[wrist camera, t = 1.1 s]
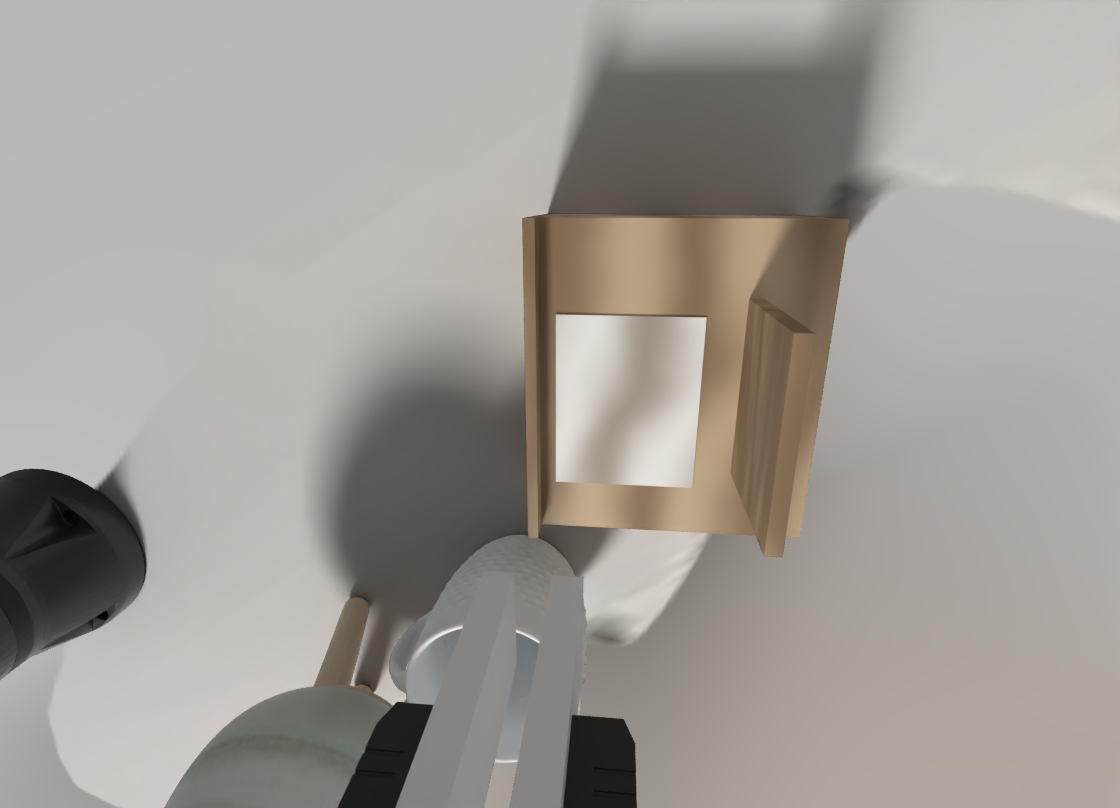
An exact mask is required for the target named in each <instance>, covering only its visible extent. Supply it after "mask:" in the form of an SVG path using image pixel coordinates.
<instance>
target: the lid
mask: <svg viewBox="0 0 1120 808" xmlns="http://www.w3.org/2000/svg"><path fill="white" fill-rule="evenodd" d="M849 221H850V219H843V218H634V217H526V218H522V230H523V286H524V341H525V397H526V453H527V508H528V538H538V537H539V532H540V528H541V524H549V525H568V526H586V527H605V528H624V529H642V530H661V531H680V532H699V533H717V534H736V535H755V536H756V538H757V540H758V542H759V545H760V548H761V550H762V553H763V555H764V556H767V557H783V552H784V545H785V538H786V537H792V538H793V537H794V538H800V534H801V528H802V521H803V515H804V509H805V502H806V496H807V489H808V483H809V476H810V470H811V464H812V457H813V451H814V445H815V438H816V432H817V425H818V419H819V413H820V406H821V400H822V394H823V387H824V381H825V374H826V368H827V361H828V355H829V348H830V342H831V336H832V329H833V323H834V316H835V310H836V304H837V297H838V291H839V285H840V278H841V271H842V266H843V259H844V253H845V246H846V240H847V234H848V227H849Z"/></svg>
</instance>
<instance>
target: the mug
mask: <svg viewBox="0 0 1120 808" xmlns="http://www.w3.org/2000/svg"><path fill="white" fill-rule="evenodd" d="M483 571H491V572H507V573H514V582H515V618H516V655H517V664H516V668H515V673H514V677H513V682H512V686H511V691H510V695H509V699H508V704H507V708H506V713H505V717H504V722H503V726H502V730H501V735H500V739H499V744H498V748H497V752H496V757H495V761H494V762H518V757H519V752H520V746H521V741H522V736H523V730H524V725H525V719H526V714H527V709H528V703H529V698H530V692H531V687H532V681H533V676H534V671H535V665H536V660H537V654H538V649H539V643H540V638H541V633H542V627H543V622H544V616H545V611H546V606H547V600H548V595H549V589H550V584H551V578H552V575H556V576H572V577H576V576H575V575H574V572H573V569H572V568H571V567H570V566H569V564H568V561H567V560H566V559H565V558H564V557H563V556H562V555H561V553H559V552H558V551H557V550H556V549H555V548H554V547H553V546H552V545H550V544H549V543H547V542H546V541H544V540H542V539H539V538H528V535H510V536H505V537H502V538H499V539H497V540H493V541H491V542H490V543H488V544H486V545H484V546H483V547H482V548H481V549H479V550H477V551H476V552H475V553H474V554H473V555H472V556H470V557H469V558H468V559H467V561H466V562H465V563H463V564H462V565H461V566H460V568H459V569H458V570H457V571H456V572H455V573H454V575H453V577H452V578H451V579H450V581H448V582H447V584H446V587H445V589H444V590H443V592H442V593H441V594H440V596H439V599H438V601H437V603H436V604H435V605H434V607H433V609H432V610H431V611H430V612H428V613H427V614H425V615H424V616H422V617H421V618H420V619H419V620H417V621H416V622H415V623H414V624H413V625H412V626H411V627H410V628H409V629H408V630H407V631H406V632H405V633H404V634H403V635H402V637H401V638H400V639H399V641H398V642H397V644H396V645H395V647H394V649H393V651H392V653H391V656H390V660H389V672H390V675H391V678H392V680H393V682H394V684H395V685H396V687H397V688H398V689H399V690H401V691H403V692H404V693H406V698H407V701H408V703H416V704H428V705H434V703H435V700H436V697H437V695H438V692H439V689H440V687H441V684H442V681H443V679H444V676H445V673H446V671H447V668H448V665H449V663H450V660H451V657H452V654H453V652H454V649H455V646H456V644H457V641H458V638H459V636H460V633H461V630H462V628H463V625H464V622H465V620H466V617H467V614H468V611H469V609H470V606H471V603H472V601H473V598H474V595H475V593H476V590H477V587H478V585H479V582H480V579H481V577H482V574H483ZM585 613H586V610H585V607H584V600H583V632H582V672H581V684H580V696H579V708H578V715H579V713H580V708H581V702H582V690H583V684H584V672H585V656H586V640H587V633H586V626H587V621H586V617H585ZM409 660H410V661H409ZM408 662H409V663H408ZM407 664H408V666H407ZM406 667H407V670H406Z"/></svg>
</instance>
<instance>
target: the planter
mask: <svg viewBox="0 0 1120 808" xmlns="http://www.w3.org/2000/svg"><path fill="white" fill-rule="evenodd" d="M368 613H369V605H368V603H367V602H366V601H365V600H364V599H363V598H360V597H353V598H351V599H349V600H348V601H347V602H346V604H345V606H344V608H343V610H342V613H341V615H340V618H339V620H338V623H337V626H336V629H335V631H334V634H333V637H332V640H331V642H330V645H329V648H328V650H327V653H326V656H325V658H324V661H323V663H322V666H321V668H320V671H319V673H318V676H317V679H316V681H315V684H314V686H313V687H306V688H300V689H296V690H292V691H288V692H285V693H282V694H279V695H276V696H274V697H271V698H269V699H267V700H264V701H262V702H260V703H258V704H257V705H255V706H253V707H251V708H249V709H248V710H246V711H245V712H243V713H242V714H240V715H239V716H238V717H236V718H235V719H234V720H233V721H231V722H230V723H229V724H228V725H227V726H225V727H224V728H223V729H222V730H221V731H220V732H219V733H218V734H217V735H216V736H215V737H214V738H213V739H212V740H211V741H210V742H209V744H208V745H207V746H206V747H205V748H204V749H203V750H202V752H201V753H200V754H199V755H198V757H197V758H196V759H195V761H194V762H193V763H192V765H191V766H190V767H189V769H188V770H187V771H186V773H185V774H184V776H183V777H182V779H181V780H180V782H179V784H178V785H177V787H176V788H175V790H174V792H173V794H172V795H171V797H170V799H169V800H168V802H167V804H166V806H165V808H337V807H338V805H339V803H340V801H341V799H342V797H343V794H344V792H345V790H346V788H347V786H348V784H349V782H350V779H351V777H352V775H354V774H355V769H356V767H357V764H358V762H359V760H360V758H361V756H362V754H363V753H364V752H365V747H366V745H367V743H368V741H369V739H370V737H371V735H372V732H373V730H374V728H375V726H376V724H377V722H378V721H379V720H380V719H381V718H382V717H383V716H384V715H385V714H386V713H387V712H388V711H389V710H390V709H391V708H392V707H393V706H392V705H391V704H390V703H389V702H387V701H386V700H384V699H383V698H381V697H380V696H378V695H376V694H374V693H372V691H371V689H370V688H369V687H367V686H365V685H357V686H355V687H353V686H350V684H351V680H352V677H353V673H354V669H355V666H356V662H357V658H358V654H359V650H360V646H361V642H362V638H363V634H364V630H365V625H366V621H367V617H368ZM404 703H408V701H407V699H406V700H405V701H404Z"/></svg>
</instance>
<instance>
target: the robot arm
mask: <svg viewBox="0 0 1120 808" xmlns="http://www.w3.org/2000/svg"><path fill="white" fill-rule="evenodd" d="M144 574H145V566H144V558H143V553H142V550H141V546H140V544H139V541H138V539H137V537H136V535H135V533H134V531H133V529H132V528H131V526H130V524H129V523H128V522H127V520H126V519H125V517H124V516H123V515H122V514H121V513H120V511H119V510H118V509H117V508H116V507H115V506H114V505H113V504H112V503H111V502H110V501H109V500H108V499H106V498H105V497H104V496H103V495H102V494H100V493H99V492H97V491H96V490H95V489H93V488H92V487H90V486H88V485H86V484H85V483H83V482H81V481H79V480H77V479H75V478H73V477H70V476H68V475H64V474H62V473H58V472H54V471H50V470H44V469H24V470H18V471H14V472H11V473H9V474H6V475H4V476H2V477H0V680H1V679H2V678H3V677H5V676H6V675H7V674H8V673H10V672H11V671H12V670H14V669H15V668H16V667H18V666H19V665H20V664H22V663H23V662H24V661H26V660H27V659H28V658H30V657H32V656H34V655H37V654H39V653H41V652H44V651H46V650H48V649H51V648H53V647H55V646H58V645H60V644H63V643H65V642H67V641H70V640H72V639H74V638H77V637H79V636H81V635H84V634H86V633H89V632H91V631H93V630H95V629H98V628H100V627H101V626H103V625H105V624H106V623H108V622H109V621H111V620H112V619H113V618H115V617H116V616H117V615H118V614H120V613H121V612H122V611H123V610H124V609H126V608H127V607H128V606H129V605H130V604H131V603H132V602H133V601H134V600H135V599H136V597H137V596H138V594H139V592H140V590H141V588H142V585H143V581H144ZM582 632H583V577H572V576H556V575H552V578H551V584H550V589H549V595H548V600H547V606H546V611H545V616H544V622H543V627H542V633H541V638H540V643H539V649H538V654H537V660H536V665H535V671H534V676H533V681H532V687H531V692H530V698H529V703H528V709H527V714H526V719H525V725H524V730H523V736H522V741H521V746H520V752H519V757H518V763H517V768H516V774H515V779H514V784H513V790H512V796H511V801H510V806H509V808H637V803H636V802H637V801H636V762H635V743H634V740H633V738H632V736H631V734H630V732H629V730H628V727H627V725H626V723H625V721H624V719H616V718H604V717H591V716H580V715H578V708H579V696H580V684H581V672H582ZM516 664H517V655H516V618H515V582H514V573H507V572H491V571H483V574H482V577H481V579H480V582H479V585H478V587H477V590H476V593H475V595H474V598H473V601H472V603H471V606H470V609H469V611H468V614H467V617H466V620H465V622H464V625H463V628H462V630H461V633H460V636H459V638H458V641H457V644H456V646H455V649H454V652H453V654H452V657H451V660H450V663H449V665H448V668H447V671H446V673H445V676H444V679H443V681H442V684H441V687H440V689H439V692H438V695H437V697H436V700H435V703H434V705H428V704H416V703H404V702H397V703H396V704H395V705H394V706H393V707H392V708H391V709H390V710H389V711H388V712H387V713H386V714H385V715H384V716H383V717H382V718H381V719H380V720H379V721H378V722H377V724H376V726H375V728H374V730H373V732H372V735H371V737H370V739H369V741H368V743H367V745H366V747H365V752H364V753H363V754H362V756H361V758H360V760H359V762H358V764H357V767H356V769H355V774H354V775H352V777H351V779H350V782H349V784H348V786H347V788H346V790H345V792H344V794H343V797H342V799H341V801H340V803H339V805H338V807H337V808H484V806H485V801H486V796H487V792H488V788H489V783H490V779H491V774H492V770H493V766H494V761H495V757H496V752H497V748H498V744H499V739H500V735H501V730H502V726H503V722H504V717H505V713H506V708H507V704H508V699H509V695H510V691H511V686H512V682H513V677H514V673H515V668H516Z"/></svg>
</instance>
